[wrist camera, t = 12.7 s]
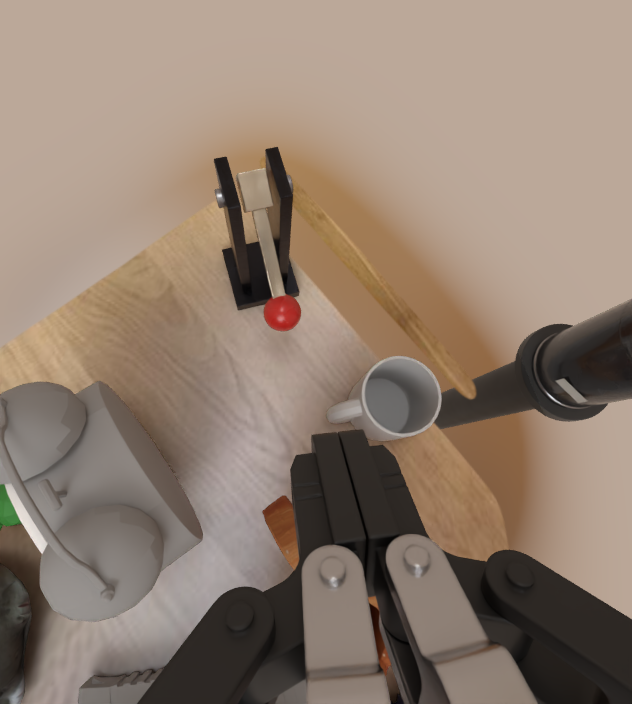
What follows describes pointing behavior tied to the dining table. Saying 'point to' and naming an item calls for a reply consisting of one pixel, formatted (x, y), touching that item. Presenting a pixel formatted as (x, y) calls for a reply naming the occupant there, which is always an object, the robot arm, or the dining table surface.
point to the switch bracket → (247, 258)
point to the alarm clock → (91, 497)
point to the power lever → (268, 249)
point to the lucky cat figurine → (12, 636)
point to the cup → (391, 400)
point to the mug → (285, 536)
